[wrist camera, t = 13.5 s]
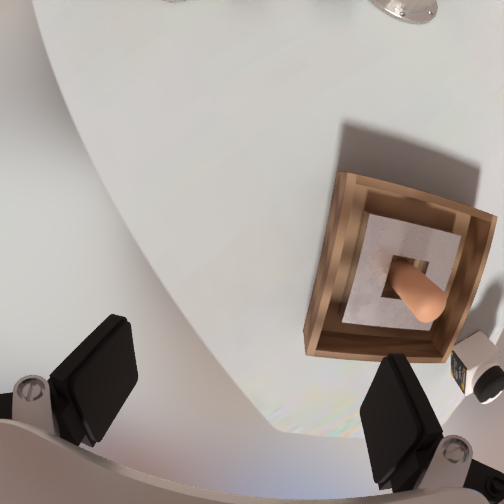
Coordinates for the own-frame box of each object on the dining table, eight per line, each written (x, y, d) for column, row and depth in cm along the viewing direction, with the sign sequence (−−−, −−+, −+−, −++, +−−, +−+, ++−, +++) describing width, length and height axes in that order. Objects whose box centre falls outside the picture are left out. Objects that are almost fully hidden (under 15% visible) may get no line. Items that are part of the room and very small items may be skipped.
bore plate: (363, 210, 33) (369, 213, 30) (451, 231, 32) (461, 236, 30) (338, 313, 37) (341, 322, 35) (422, 322, 36) (429, 330, 34)
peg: (390, 255, 34) (422, 286, 24) (415, 260, 34) (451, 290, 24) (382, 284, 35) (409, 321, 26) (406, 288, 35) (438, 323, 25)
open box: (336, 171, 33) (347, 172, 27) (473, 208, 32) (497, 216, 26) (303, 330, 39) (305, 355, 34) (430, 341, 38) (445, 363, 32)
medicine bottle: (449, 346, 38) (481, 389, 27) (480, 329, 37) (515, 366, 25) (450, 373, 40) (476, 415, 28) (479, 356, 38) (508, 394, 27)
